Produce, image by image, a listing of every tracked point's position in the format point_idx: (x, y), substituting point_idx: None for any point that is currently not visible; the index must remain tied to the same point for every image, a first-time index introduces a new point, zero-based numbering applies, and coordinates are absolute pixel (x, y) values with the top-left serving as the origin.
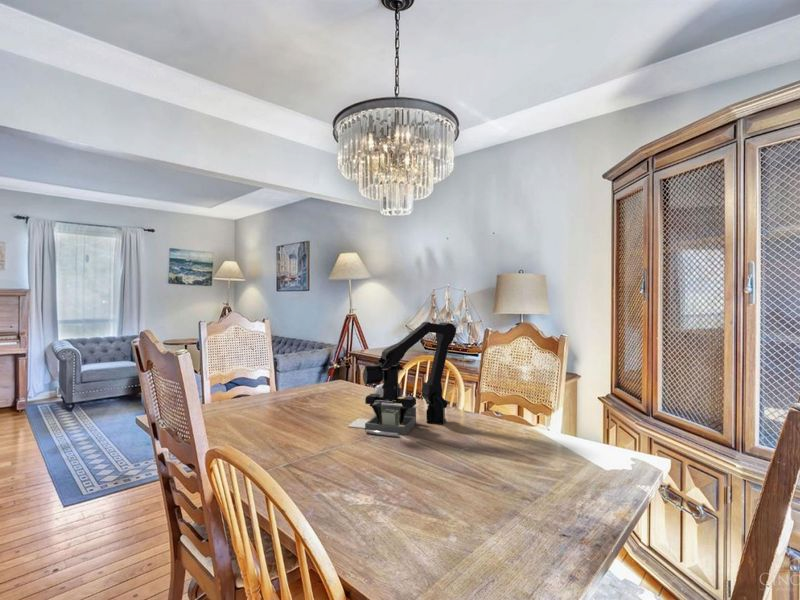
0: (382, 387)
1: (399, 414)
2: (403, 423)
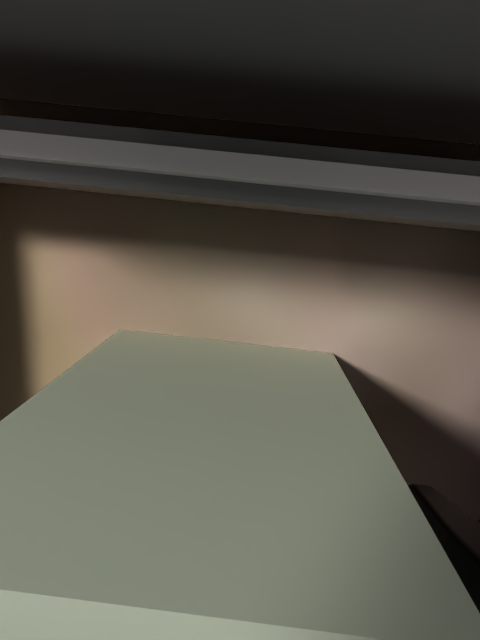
0: None
1: (343, 66)
2: (401, 222)
